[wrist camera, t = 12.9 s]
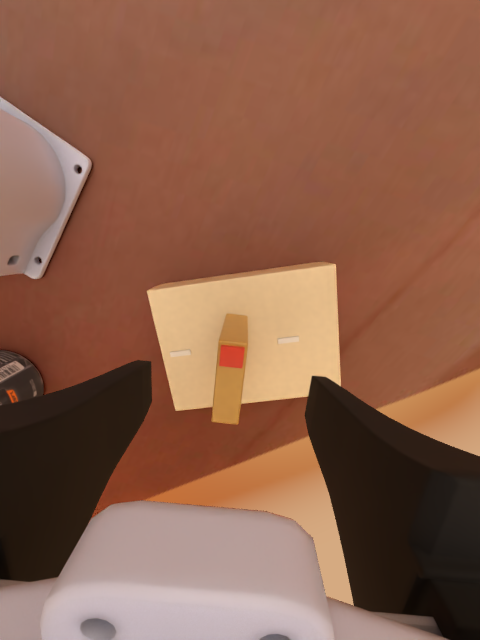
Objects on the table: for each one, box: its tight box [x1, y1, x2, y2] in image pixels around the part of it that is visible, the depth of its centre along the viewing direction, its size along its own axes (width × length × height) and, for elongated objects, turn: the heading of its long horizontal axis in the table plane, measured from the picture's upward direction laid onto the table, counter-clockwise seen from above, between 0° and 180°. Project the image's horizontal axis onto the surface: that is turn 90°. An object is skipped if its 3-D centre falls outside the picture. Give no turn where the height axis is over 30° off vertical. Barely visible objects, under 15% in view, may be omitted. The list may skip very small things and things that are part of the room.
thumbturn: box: [211, 314, 248, 424], centre depth 15 cm, size 4×1×5 cm, turn 174°
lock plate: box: [147, 261, 341, 411], centre depth 19 cm, size 12×9×3 cm
